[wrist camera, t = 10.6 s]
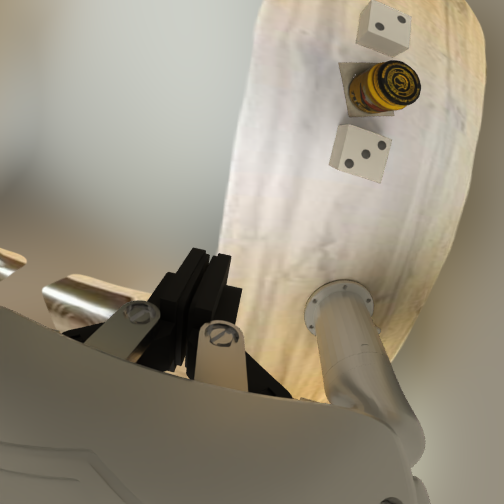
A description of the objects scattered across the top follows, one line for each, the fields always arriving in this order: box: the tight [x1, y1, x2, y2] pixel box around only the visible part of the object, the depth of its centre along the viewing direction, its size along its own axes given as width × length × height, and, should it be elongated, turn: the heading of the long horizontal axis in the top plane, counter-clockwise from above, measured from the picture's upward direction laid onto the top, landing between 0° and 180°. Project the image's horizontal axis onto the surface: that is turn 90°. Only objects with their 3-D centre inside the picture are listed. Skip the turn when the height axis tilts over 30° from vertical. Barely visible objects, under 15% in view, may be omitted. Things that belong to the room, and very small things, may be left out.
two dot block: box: [356, 0, 412, 58], centre depth 25 cm, size 6×6×6 cm
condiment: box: [338, 60, 421, 117], centre depth 26 cm, size 7×8×12 cm
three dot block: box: [329, 124, 392, 184], centre depth 33 cm, size 6×6×6 cm
